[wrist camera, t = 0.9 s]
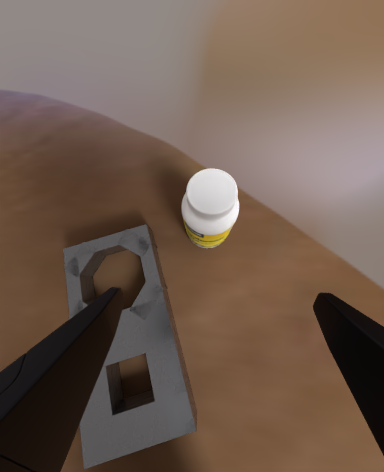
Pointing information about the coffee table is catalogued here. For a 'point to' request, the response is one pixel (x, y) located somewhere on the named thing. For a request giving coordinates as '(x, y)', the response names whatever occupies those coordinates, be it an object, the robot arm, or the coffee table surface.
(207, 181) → the supplement bottle
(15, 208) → the coffee table surface
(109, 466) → the coffee table surface
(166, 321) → the socket plate
